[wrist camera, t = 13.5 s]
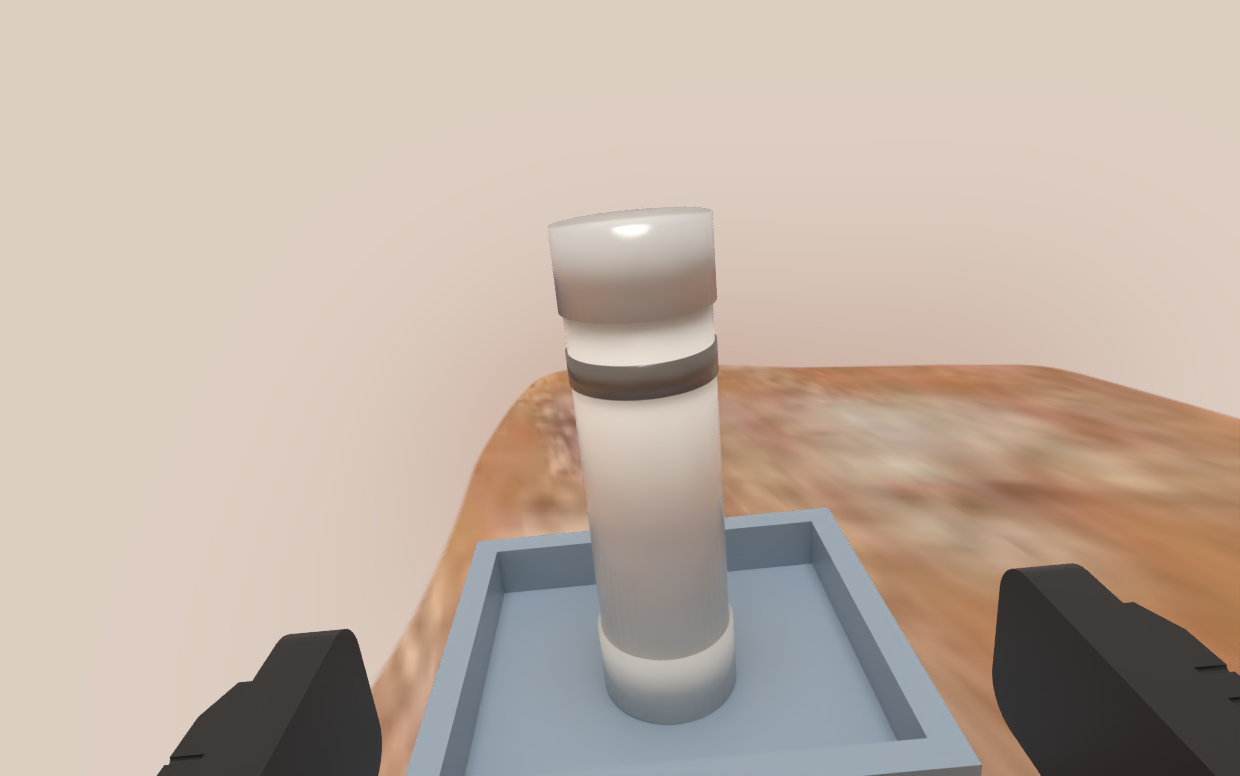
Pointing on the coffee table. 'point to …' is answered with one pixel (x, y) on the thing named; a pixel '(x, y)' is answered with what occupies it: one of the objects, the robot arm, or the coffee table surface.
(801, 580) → the parts tray
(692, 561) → the fuse
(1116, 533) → the coffee table surface
